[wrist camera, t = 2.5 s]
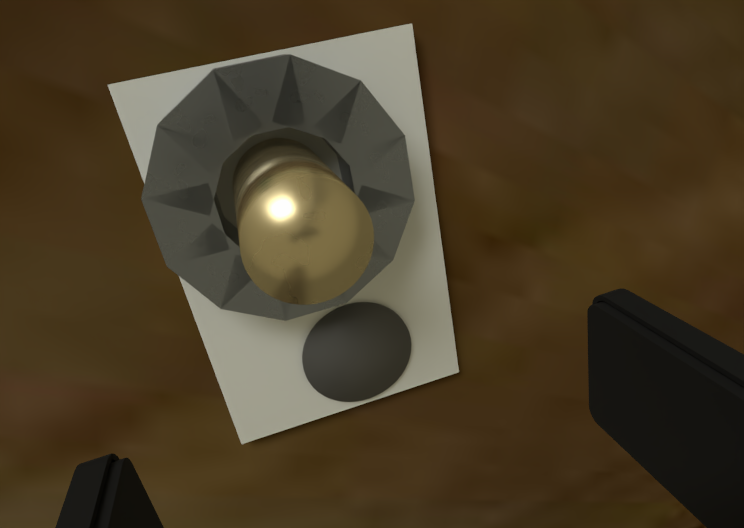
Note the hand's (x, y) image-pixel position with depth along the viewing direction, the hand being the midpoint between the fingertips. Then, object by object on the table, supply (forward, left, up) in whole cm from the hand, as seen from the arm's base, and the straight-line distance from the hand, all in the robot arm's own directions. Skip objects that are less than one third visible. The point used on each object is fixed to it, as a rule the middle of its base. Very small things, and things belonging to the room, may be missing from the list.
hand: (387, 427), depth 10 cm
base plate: (-1, +4, -21) cm, 21 cm away
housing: (0, 0, -20) cm, 20 cm away
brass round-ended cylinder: (0, 0, -20) cm, 20 cm away
